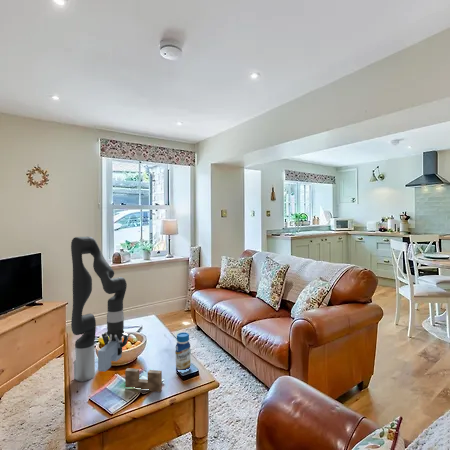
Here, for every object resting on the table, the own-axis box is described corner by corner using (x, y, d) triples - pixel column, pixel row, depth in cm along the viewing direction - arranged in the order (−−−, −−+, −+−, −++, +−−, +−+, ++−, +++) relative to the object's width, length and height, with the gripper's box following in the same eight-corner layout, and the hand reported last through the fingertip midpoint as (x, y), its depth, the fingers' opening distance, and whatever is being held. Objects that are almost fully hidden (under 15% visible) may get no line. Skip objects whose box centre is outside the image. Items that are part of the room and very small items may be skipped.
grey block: (98, 370, 129) (97, 350, 128) (115, 356, 142) (114, 338, 142) (105, 371, 128) (105, 351, 128) (121, 356, 142) (121, 338, 142)
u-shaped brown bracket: (125, 388, 142) (125, 370, 142) (127, 385, 145) (127, 368, 145) (159, 391, 139) (159, 373, 139) (161, 388, 142) (161, 370, 142)
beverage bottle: (190, 365, 164) (190, 331, 164) (191, 373, 156) (190, 336, 156) (175, 367, 163) (175, 332, 163) (175, 374, 155) (174, 337, 155)
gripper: (97, 321, 137) (97, 356, 137) (125, 322, 134) (125, 359, 135) (106, 315, 144) (106, 349, 144) (132, 317, 142) (132, 352, 142)
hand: (115, 354), depth 140 cm, fingers closed on grey block, 3 cm apart
